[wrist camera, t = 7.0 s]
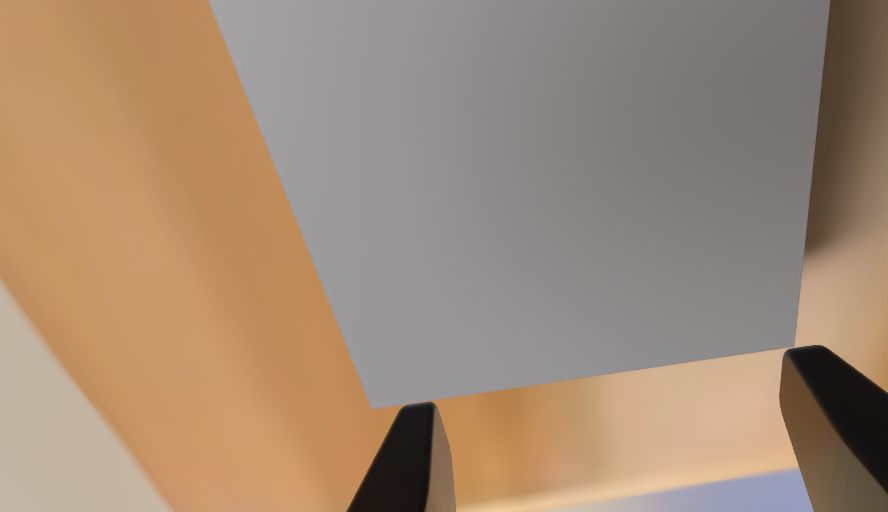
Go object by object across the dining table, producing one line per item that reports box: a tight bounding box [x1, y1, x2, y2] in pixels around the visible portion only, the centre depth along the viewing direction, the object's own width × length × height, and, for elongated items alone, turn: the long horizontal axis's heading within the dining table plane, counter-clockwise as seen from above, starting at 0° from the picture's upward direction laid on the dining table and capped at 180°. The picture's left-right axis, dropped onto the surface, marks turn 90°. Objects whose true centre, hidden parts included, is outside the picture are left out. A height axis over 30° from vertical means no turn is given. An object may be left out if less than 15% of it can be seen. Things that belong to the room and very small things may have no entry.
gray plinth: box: [208, 0, 830, 409], centre depth 16 cm, size 11×16×3 cm
